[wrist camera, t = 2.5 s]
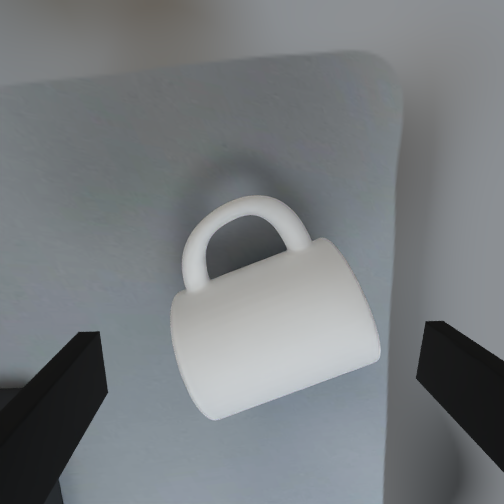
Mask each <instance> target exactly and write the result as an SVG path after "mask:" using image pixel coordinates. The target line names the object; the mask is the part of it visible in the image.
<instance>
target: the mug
mask: <svg viewBox="0 0 504 504" xmlns="http://www.w3.org/2000/svg"><path fill="white" fill-rule="evenodd" d="M246 215H256V216H260V217H262V218H264V219H265V220H267V221H268V222H269V223H271V224H272V225H273V227H274V228H275V229H276V230H277V232H278V233H279V235H280V236H281V238H282V240H283V241H284V243H285V245H286V247H287V251H284V252H282V253H279V254H276V255H274V256H271V257H268V258H266V259H263V260H261V261H258V262H255V263H253V264H250V265H248V266H245V267H242V268H240V269H237V270H235V271H232V272H229V273H227V274H224V275H221V276H219V277H216V278H214V279H210V278H209V275H208V271H207V266H206V249H207V245H208V242H209V240H210V238H211V237H212V235H213V234H214V233H215V232H216V231H217V230H218V229H219V228H220V227H222V226H223V225H225V224H226V223H228V222H230V221H232V220H234V219H236V218H239V217H242V216H246ZM182 274H183V279H184V284H185V287H186V289H185V290H182V291H180V292H178V293H177V294H176V295H175V297H174V299H173V302H172V305H171V313H170V326H171V336H172V342H173V348H174V352H175V356H176V360H177V364H178V367H179V370H180V373H181V376H182V379H183V381H184V384H185V386H186V388H187V390H188V392H189V394H190V396H191V398H192V400H193V402H194V403H195V405H196V406H197V408H198V409H199V410H200V411H201V413H202V414H203V415H205V416H206V417H207V418H209V419H211V420H219V419H222V418H225V417H228V416H230V415H233V414H236V413H239V412H241V411H244V410H247V409H249V408H252V407H255V406H258V405H260V404H263V403H266V402H269V401H271V400H274V399H277V398H280V397H282V396H285V395H288V394H290V393H293V392H296V391H299V390H301V389H304V388H307V387H310V386H312V385H315V384H318V383H321V382H323V381H326V380H329V379H331V378H334V377H337V376H340V375H342V374H345V373H348V372H351V371H353V370H356V369H359V368H361V367H364V366H367V365H370V364H372V363H375V362H377V361H378V360H379V358H380V354H381V346H380V339H379V335H378V331H377V327H376V324H375V320H374V318H373V315H372V312H371V309H370V307H369V304H368V302H367V299H366V297H365V295H364V293H363V290H362V288H361V286H360V284H359V282H358V280H357V278H356V276H355V274H354V273H353V271H352V269H351V267H350V266H349V264H348V262H347V261H346V259H345V258H344V256H343V255H342V254H341V252H340V251H339V250H338V248H337V247H336V246H335V245H334V244H333V243H332V242H331V241H330V240H328V239H326V238H318V239H316V240H313V241H312V240H311V238H310V236H309V234H308V232H307V230H306V228H305V226H304V224H303V223H302V221H301V220H300V218H299V217H298V216H297V214H296V213H295V212H294V211H293V210H292V209H291V208H290V207H289V206H287V205H286V204H285V203H283V202H281V201H280V200H278V199H275V198H272V197H269V196H263V195H252V196H245V197H241V198H238V199H235V200H232V201H230V202H228V203H226V204H224V205H222V206H220V207H218V208H217V209H215V210H214V211H212V212H211V213H210V214H208V215H207V216H206V217H205V218H204V219H203V220H202V221H201V222H200V223H199V224H198V225H197V226H196V227H195V229H194V230H193V231H192V233H191V234H190V236H189V238H188V240H187V242H186V245H185V247H184V251H183V256H182Z"/></svg>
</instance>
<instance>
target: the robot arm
mask: <svg viewBox="0 0 504 504" xmlns="http://www.w3.org/2000/svg"><path fill="white" fill-rule="evenodd" d="M416 379H417V380H418V381H419V382H420V383H421V384H422V385H423V386H424V388H426V390H427V391H428V392H429V393H430V394H431V395H432V396H433V397H434V398H435V399H436V400H437V401H438V402H439V404H441V406H442V407H443V408H444V409H445V410H446V411H447V412H448V413H449V414H450V415H451V416H452V417H453V419H454V420H455V421H456V422H457V423H458V424H459V425H460V426H461V427H462V428H463V429H464V430H465V431H466V432H467V433H468V435H469V436H470V437H471V438H472V439H473V440H474V441H475V442H476V443H477V444H478V445H479V446H480V447H481V448H482V450H483V451H484V452H485V453H486V454H487V455H488V456H489V457H490V458H491V459H492V460H493V461H494V462H495V463H496V464H497V466H498V467H499V468H500V469H501V470H502V471H503V472H504V361H503V360H501V359H500V358H498V357H497V356H495V355H494V354H492V353H491V352H489V351H488V350H486V349H485V348H483V347H482V346H480V345H479V344H477V343H476V342H474V341H473V340H471V339H470V338H468V337H466V336H465V335H463V334H462V333H461V332H459V331H457V330H456V329H455V328H453V327H452V326H450V325H449V324H447V323H445V322H444V321H426V323H425V329H424V334H423V340H422V346H421V352H420V358H419V364H418V369H417V375H416ZM107 393H108V389H107V382H106V374H105V367H104V360H103V353H102V345H101V338H100V331H97V332H78V333H77V334H76V335H75V336H74V337H73V338H72V339H71V340H70V341H69V342H68V343H67V344H66V345H65V346H64V347H63V348H62V349H61V350H60V351H59V352H58V353H57V354H56V355H55V356H54V357H53V358H52V359H51V360H50V361H49V362H48V363H47V364H46V365H45V366H44V367H43V368H42V369H41V370H40V371H39V372H38V373H37V374H36V375H35V376H34V378H33V379H32V380H31V381H30V382H29V383H28V384H27V385H26V386H25V387H24V388H23V389H22V390H21V391H20V392H19V393H18V394H17V395H16V396H15V397H14V398H13V399H12V400H11V401H10V402H9V403H8V404H7V405H6V406H5V407H4V408H3V409H2V410H1V411H0V504H44V503H45V501H46V499H47V497H48V496H49V494H50V492H51V490H52V489H53V487H54V485H55V484H56V482H57V480H58V478H59V477H60V475H61V473H62V471H63V470H64V468H65V466H66V464H67V463H68V461H69V459H70V458H71V456H72V454H73V452H74V451H75V449H76V447H77V445H78V444H79V442H80V440H81V438H82V437H83V435H84V433H85V431H86V430H87V428H88V426H89V425H90V423H91V421H92V419H93V418H94V416H95V414H96V412H97V411H98V409H99V407H100V405H101V404H102V402H103V400H104V398H105V397H106V395H107Z"/></svg>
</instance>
